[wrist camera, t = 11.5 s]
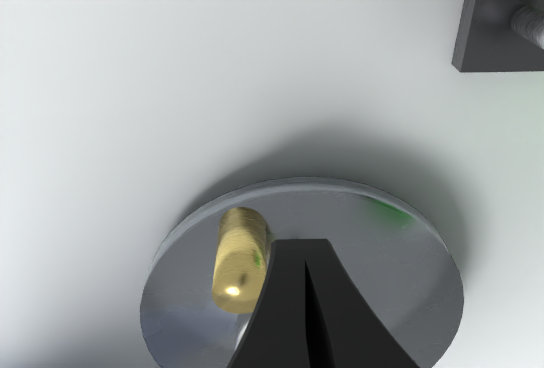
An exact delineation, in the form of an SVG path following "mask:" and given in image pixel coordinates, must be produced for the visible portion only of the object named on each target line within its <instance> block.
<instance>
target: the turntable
mask: <svg viewBox="0 0 544 368" xmlns="http://www.w3.org/2000/svg"><path fill="white" fill-rule="evenodd" d="M323 238H326V239H328V240H329V241H330V242H331V244H332V246H333V248H334V250H335V252H336V254H337V256H338V258H339V260H340V261H341V263H342V265H343V267H344V268H345V270H346V272H347V273H348V275H349V277H350V278H351V280H352V281H353V283H354V284H355V286H356V287H357V289H358V290H359V292H360V293H361V295H362V296H363V298H364V299H365V300H366V302H367V303H368V305H369V306H370V308H371V309H372V310H373V312H374V313H375V314H376V316H377V317H378V318H379V320H380V321H381V322H382V323H383V325H384V326H385V327H386V328H387V330H388V331H389V332H390V334H391V335H392V336H393V337H394V338H395V340H396V341H397V342H398V343H399V344H400V345H401V347H402V348H403V349H404V350H405V351H406V352H407V353H408V355H409V356H410V357H411V358H412V359H413V360H414V361H415V362H416V363H417V364H418V365H419V367H420V368H432V367H433V366H434V365H435V364H436V362H437V361H438V360H439V359H440V358H441V357H442V356H443V354H444V353H445V352H446V350H447V349H448V347H449V346H450V344H451V343H452V341H453V339H454V337H455V335H456V333H457V331H458V328H459V324H460V321H461V318H462V313H463V305H464V296H463V285H462V281H461V278H460V274H459V271H458V269H457V267H456V265H455V263H454V261H453V259H452V257H451V255H450V253H449V251H448V249H447V247H446V245H445V243H444V241H443V239H442V237H441V236H440V234H439V233H438V232H437V230H436V229H435V228H434V226H433V225H432V224H431V223H430V222H429V221H428V220H427V219H426V218H425V217H424V216H423V215H422V214H421V213H420V212H419V211H417V210H416V209H414V208H413V207H412V206H410V205H409V204H407V203H406V202H405V201H403V200H401V199H399V198H397V197H395V196H393V195H391V194H389V193H387V192H385V191H383V190H380V189H377V188H374V187H372V186H369V185H366V184H363V183H358V182H353V181H349V180H344V179H337V178H328V177H289V178H281V179H273V180H268V181H264V182H259V183H255V184H251V185H247V186H244V187H242V188H239V189H236V190H233V191H231V192H228V193H225V194H223V195H221V196H219V197H217V198H215V199H213V200H211V201H209V202H208V203H206V204H204V205H203V206H201V207H200V208H198V209H197V210H195V211H194V212H192V213H191V214H189V215H188V216H187V217H186V218H185V219H184V220H183V221H182V222H180V223H179V224H178V225H177V226H176V227H175V228H174V229H173V230H172V231H171V233H170V234H169V235H168V236H167V237H166V239H165V240H164V241H163V242H162V244H161V246H160V248H159V249H158V251H157V253H156V254H155V256H154V258H153V261H152V264H151V266H150V269H149V272H148V275H147V279H146V283H145V286H144V290H143V295H142V300H141V306H140V323H141V328H142V333H143V337H144V339H145V342H146V344H147V347H148V349H149V351H150V353H151V354H152V356H153V358H154V359H155V361H156V362H157V364H158V365H159V366H160V367H161V368H226V367H227V365H228V364H229V362H230V360H231V358H232V356H233V354H234V352H235V338H236V321H237V316H238V314H246V313H250V312H253V311H254V308H255V306H256V303H257V300H258V298H259V295H260V292H261V289H262V286H263V283H264V280H265V276H266V273H267V269H268V265H269V260H270V253H271V243H272V242H273V241H275V240H278V239H323Z"/></svg>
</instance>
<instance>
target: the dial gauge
mask: <svg viewBox="0 0 544 368" xmlns="http://www.w3.org/2000/svg"><path fill="white" fill-rule="evenodd" d="M452 65H453V66H454V67H455V68H456V69H457V70H458V71H459V72H524V71H544V0H464V4H463V9H462V14H461V19H460V24H459V29H458V34H457V39H456V44H455V49H454V54H453V59H452Z"/></svg>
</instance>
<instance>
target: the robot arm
mask: <svg viewBox="0 0 544 368" xmlns="http://www.w3.org/2000/svg"><path fill="white" fill-rule="evenodd" d="M226 368H420V367H419V365H418V364H417V363H416V362H415V361H414V360H413V359H412V358H411V357H410V356H409V355H408V353H407V352H406V351H405V350H404V349H403V348H402V347H401V345H400V344H399V343H398V342H397V341H396V340H395V338H394V337H393V336H392V335H391V334H390V332H389V331H388V330H387V328H386V327H385V326H384V325H383V323H382V322H381V321H380V320H379V318H378V317H377V316H376V314H375V313H374V312H373V310H372V309H371V308H370V306H369V305H368V303H367V302H366V300H365V299H364V298H363V296H362V295H361V293H360V292H359V290H358V289H357V287H356V286H355V284H354V283H353V281H352V280H351V278H350V277H349V275H348V273H347V272H346V270H345V268H344V267H343V265H342V263H341V261H340V260H339V258H338V256H337V254H336V252H335V250H334V248H333V246H332V244H331V242H330V241H329V240H328V239H326V238H323V239H278V240H275V241H273V242H272V243H271V253H270V260H269V265H268V269H267V273H266V276H265V280H264V283H263V286H262V289H261V292H260V295H259V298H258V300H257V303H256V306H255V308H254V311H253V313H252V315H251V318H250V320H249V322H248V325H247V327H246V329H245V332H244V334H243V336H242V338H241V340H240V342H239V344H238V346H237V348H236V350H235V352H234V354H233V356H232V358H231V360H230V362H229V364H228V365H227V367H226Z"/></svg>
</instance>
